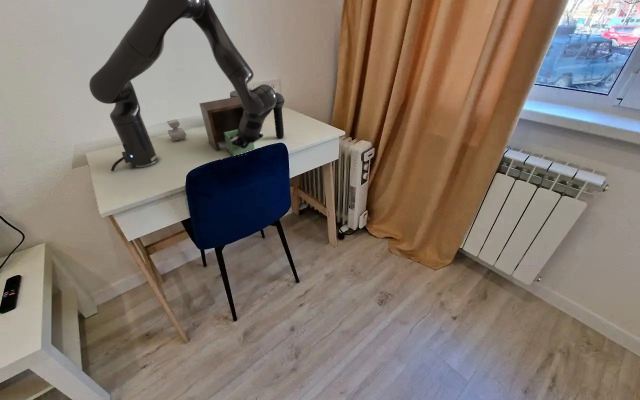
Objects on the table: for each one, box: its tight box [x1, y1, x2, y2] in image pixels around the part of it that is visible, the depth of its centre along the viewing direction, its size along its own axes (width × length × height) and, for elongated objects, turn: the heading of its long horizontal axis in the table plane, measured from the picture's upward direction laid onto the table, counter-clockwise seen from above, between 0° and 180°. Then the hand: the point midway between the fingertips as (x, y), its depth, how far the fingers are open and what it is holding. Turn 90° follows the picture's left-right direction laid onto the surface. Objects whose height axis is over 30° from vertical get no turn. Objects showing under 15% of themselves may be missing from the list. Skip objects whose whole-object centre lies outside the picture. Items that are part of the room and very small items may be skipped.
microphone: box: [272, 92, 285, 140], centre depth 123 cm, size 7×7×20 cm
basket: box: [224, 129, 255, 157], centre depth 116 cm, size 9×8×8 cm
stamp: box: [166, 119, 187, 142], centre depth 126 cm, size 9×7×8 cm
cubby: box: [199, 97, 244, 152], centre depth 121 cm, size 17×11×17 cm, turn 124°
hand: (243, 146), depth 113 cm, fingers closed
